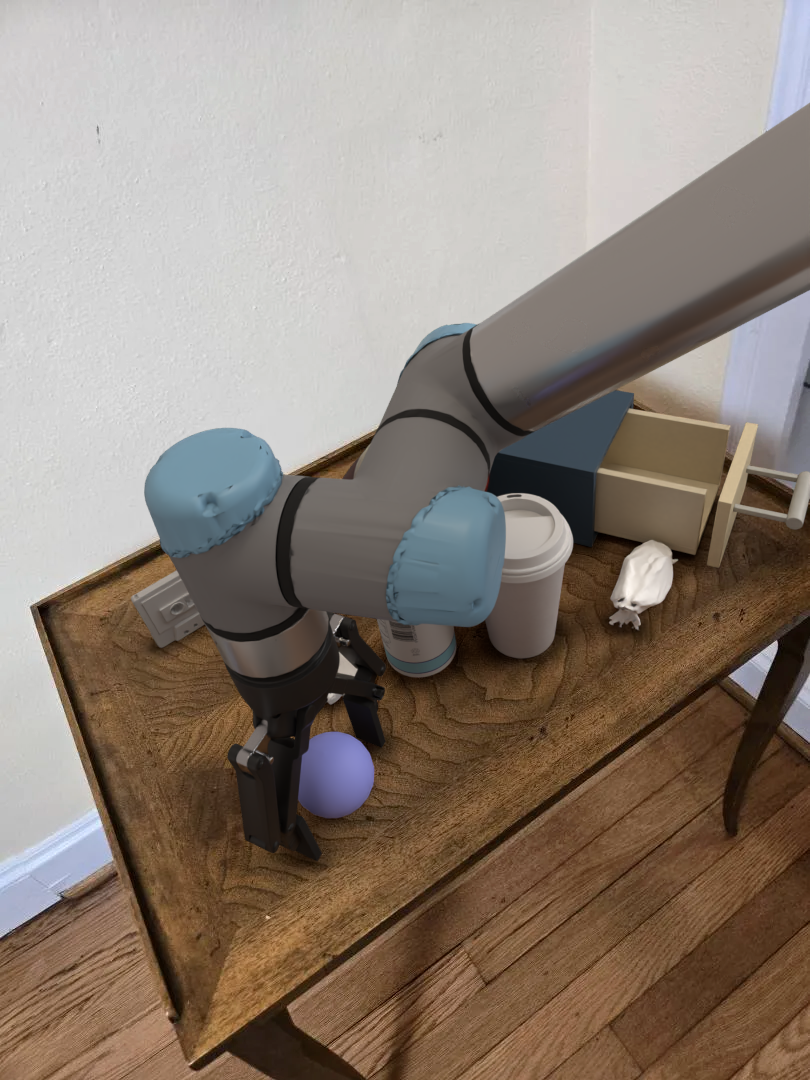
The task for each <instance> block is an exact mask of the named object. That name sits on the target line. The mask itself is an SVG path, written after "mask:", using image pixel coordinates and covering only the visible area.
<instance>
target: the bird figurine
mask: <svg viewBox="0 0 810 1080" xmlns="http://www.w3.org/2000/svg"><path fill="white" fill-rule="evenodd" d="M678 561H679V559H678V558H674V559H673V552H672V549H670V548H669V547H668V546H666V545H664V544H662V543H660V542H656V541H654V540H650V541H648V542H645V543H643V542H642V544H640V545H637V546H636V547H634V548H633V550H632V551H631V552H630V554H628V555H626V557H624V559H623V562H622V564H621V569H620V572H619V575H618V578H617V581H616V583H615V585H614V588H613V589H612V592H611V596H610V599H609V600H610V601H611V602H612V604H613V606H614V608H616V609H618V610H617V611H616V612H615V613H613V614H612V615H610V616H609V617H608V618H609V620H610V621H609V622H608V624H609V625H611V626H614V624H615V623H618V624H619V625H618V627H619V628H622V625H624V624H625V625H628V624H629V623H630V622H631V623H632V625H633V626H632V627H631V629H634V628H635V630H637V631H638V632H639V631H641V629H639V626H641V619H640V617H639V614H641V613H643V612H644V611H646V610H647V609H648V608H650V607H654V606H656V605H659V604H661V603H663V601H664V600H665V599H666V597H667V596H668V595H667V594H668V593H669V591H670V589H671V588H672V584H673V580H674V579H673V578H674V566H673V565H674V564H676V563H677V562H678Z"/></svg>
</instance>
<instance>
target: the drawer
mask: <svg viewBox="0 0 810 1080" xmlns="http://www.w3.org/2000/svg"><path fill="white" fill-rule="evenodd" d="M758 427H759V424H758V423H752V422H745V423H744V426H743V429H742V433H741V435H740V438H739V440H738V443H737V447H736V449H735V452H734V455H733V458H732V460H731V464H730V466H729V468H728V472H727V475H726V478H725V480H724V483H723V486H722V489H721V492H720V495H719V497H718V501H717V505H716V510H715V511H716V512H715V517H714V522H713V528H712V532H711V533H712V534H711V537H710V543H709V544H710V545H709V550H708V555H707V560H706V566H708V567H709V566H710V567H713V568H717V569H720V566H721V564H722V563H721V562H722V560H723V558H724V554H725V551H726V549H727V545H728V542H729V539H730V536H731V532H732V529H733V526H734V523H735V520H736V517H737V514H738V513H739V514H743V515H748V516H752V517H756V518H757V517H758V518H761V519H762V518H763V519H766V520H771V521H776V522H781V523H785V525H786V527H787V528H789V529H791V530H800V529H801V528H803V526H804V522H805V518H806V515H807V511H808V508H809V507H808V506H809V502H810V471H807V470H805V471H804V470H803V471H801V472H799V473H798V474H796V473H792V472H787V471H782V470H775V469H770V468H765V467H760V466H755V465H751V462H752V456H753V452H754V447H755V443H756V437H757V433H758V429H759V428H758ZM730 432H731V425H729V424H722V423H718V422H712V421H706V420H700V419H693V418H688V417H683V416H676V415H670V414H664V413H658V412H651V411H648V410H647V411H646V410H640V409H636V408H635V409H634V408H633V409H630V408H629V410H628V411H627V413H626V415H625V417H624V419H623V421H622V423H621V425H620V427H619V429H618V431H617V433H616V435H615V437H614V439H613V441H612V443H611V445H610V447H609V449H608V451H607V453H606V455H605V457H604V459H603V461H602V463H601V465H600V467H599V469H598V471H597V473H596V498H595V528H594V531H597V532H599V533H601V534H606V535H610V536H613V537H618V538H621V539H622V538H623V539H626V540H631V541H634V542H639V543H642V544H643V543H645V542H648V541H650V540H654V541H656V542H660V543H662V544H664V545H666V546H668V547H669V548H670V550H671V551H672V550H673V551H677V552H681V553H686V554H689V555H693V556H695V555H696V554H697V552H698V548H699V546H700V543H701V540H702V537H703V534H704V531H705V529H706V526H707V523H708V521H709V518H710V515H711V512H712V510H713V506H714V504H715V500H716V498H717V495H718V493H719V490H720V486H721V482H722V475H723V471H724V464H725V460H726V454H727V448H728V444H729V443H728V442H729V437H730ZM749 474H750V475H756V476H761V477H765V478H771V479H777V480H781V481H787V482H792V483H795V484H794V490H793V492H792V497H791V501H790V504H789V507H788V511H787V513H782V512H777V511H773V510H768V509H763V508H758V507H754V506H748V505H745V504H741V502H742V499H743V496H744V493H745V490H746V485H747V481H748V476H749Z"/></svg>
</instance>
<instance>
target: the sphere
mask: <svg viewBox="0 0 810 1080" xmlns="http://www.w3.org/2000/svg"><path fill="white" fill-rule="evenodd" d="M374 781H375V765H374V762H373V759H372V755H371V753H370V752H369V750H368V749H367V747H366V746H365V745H364V744H363V743H362V741H361V740H360V739H358V738H356V737H354V736H353V735H351V734H349V733H345V732H341V731H325V732H322V733H319V734H316V735H314V736H313V737H310V740H309V749H308V751H307V752H306V753H305V754H303V755H302V763H301V773H300V784H299V795H298V803H300V805H301V807H303V808H304V809H306V810H307V811H309V812H310V813H311V814H313V815H314V816H318V817H320V818H324V819H340V818H343V817H347V816H349V815H351V814H352V813H354V812H356V811H358V810H359V808H361V807H362V806H363V805H364V803H365V802H366V801H367V800H368V798H369V796H370V794H371V791H372V788H374V787H373V786H374V783H375V782H374Z"/></svg>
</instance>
